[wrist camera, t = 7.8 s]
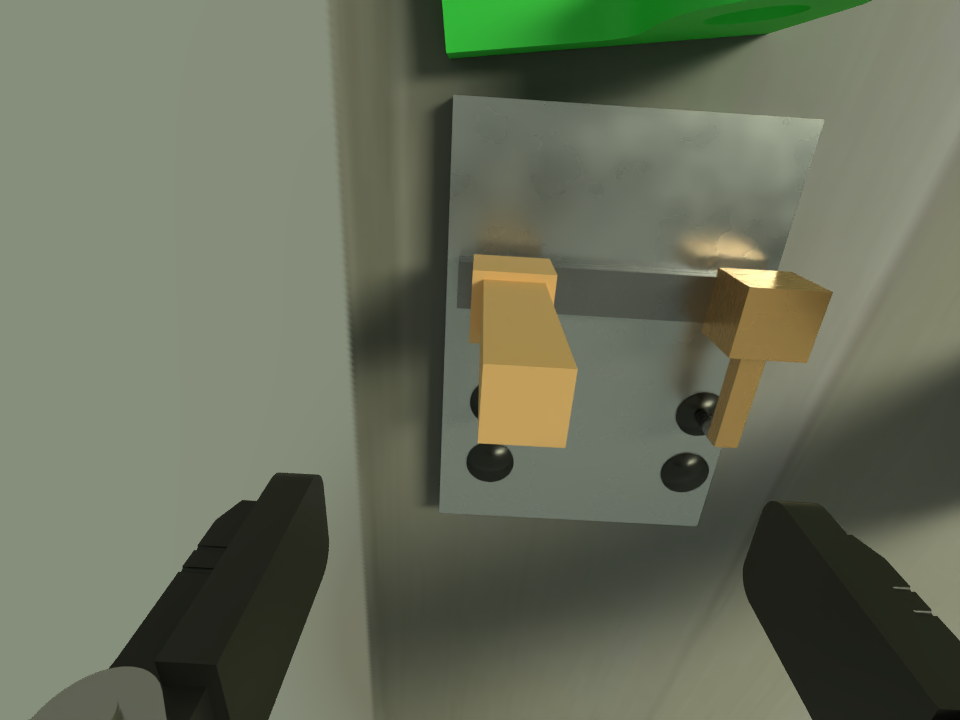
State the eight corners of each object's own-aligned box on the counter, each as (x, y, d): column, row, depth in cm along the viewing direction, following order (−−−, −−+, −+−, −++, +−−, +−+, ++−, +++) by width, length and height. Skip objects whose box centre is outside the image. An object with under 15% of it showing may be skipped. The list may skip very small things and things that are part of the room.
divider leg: (546, 252, 21) (597, 358, 12) (527, 413, 25) (555, 598, 15) (474, 248, 21) (466, 351, 12) (465, 410, 24) (453, 593, 15)
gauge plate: (806, 119, 20) (896, 119, 16) (688, 511, 29) (726, 581, 24) (455, 95, 20) (446, 88, 16) (440, 497, 29) (432, 567, 24)
